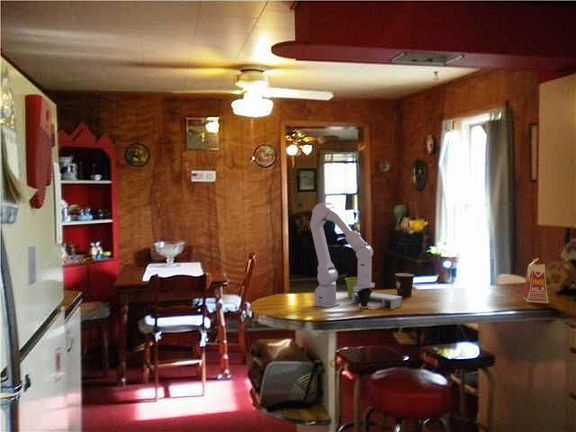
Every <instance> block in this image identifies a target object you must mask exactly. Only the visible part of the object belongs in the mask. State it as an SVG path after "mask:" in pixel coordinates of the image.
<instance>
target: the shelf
mask: <svg viewBox="0 0 576 432" xmlns="http://www.w3.org/2000/svg"><path fill="white" fill-rule="evenodd" d="M402 298H403V297H402V296H397V295H393V294H387V293H385V294H384V293H378V292H372V293H371V295H370V297H369V300H368V301H370V300H380V301H382V307H381V308H386V306H387V307H389V306H390V309H391V310H394V309H397V307H398V308H400V307H402V304H403V303H402V302H403V299H402ZM357 303H360V299H359V296H358V294H357V292H356V293H353V294H352V298H351V304H357Z"/></svg>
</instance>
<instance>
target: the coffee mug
mask: <svg viewBox="0 0 576 432" xmlns="http://www.w3.org/2000/svg"><path fill="white" fill-rule="evenodd" d="M394 275H395V276H394V279H393V280H394V283H395V285H396V293H397V295H396V296H402V298H411V296H412V292H413V286H414V276H415V275H414V274H412V273H402V272H400V273H399V272H398V273H395V274H394Z"/></svg>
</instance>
